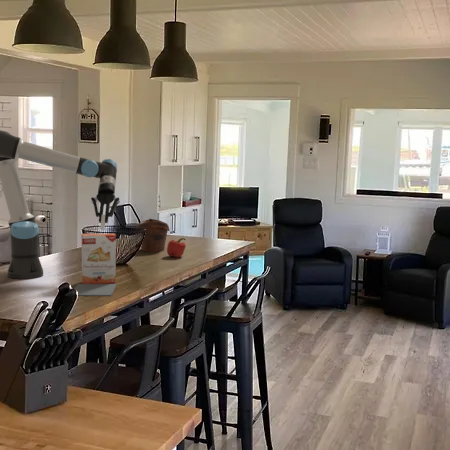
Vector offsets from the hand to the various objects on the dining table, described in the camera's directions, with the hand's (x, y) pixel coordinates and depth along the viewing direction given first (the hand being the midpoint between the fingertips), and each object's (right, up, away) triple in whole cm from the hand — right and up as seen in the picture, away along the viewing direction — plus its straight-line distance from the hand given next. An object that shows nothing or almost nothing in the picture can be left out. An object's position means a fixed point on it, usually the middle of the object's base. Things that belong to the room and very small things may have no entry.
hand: (102, 227), depth 276 cm
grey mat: (+1, -25, -23) cm, 34 cm away
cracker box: (0, -23, -9) cm, 25 cm away
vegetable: (+28, -16, +59) cm, 67 cm away
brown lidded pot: (+13, -13, +80) cm, 82 cm away
